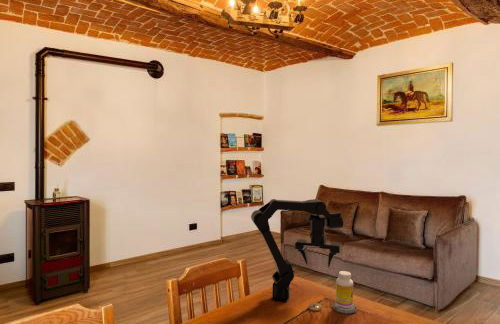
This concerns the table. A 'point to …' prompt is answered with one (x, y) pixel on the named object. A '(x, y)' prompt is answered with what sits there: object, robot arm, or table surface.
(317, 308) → the small brass flange
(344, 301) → the supplement bottle
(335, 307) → the flange pad
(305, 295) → the table surface
